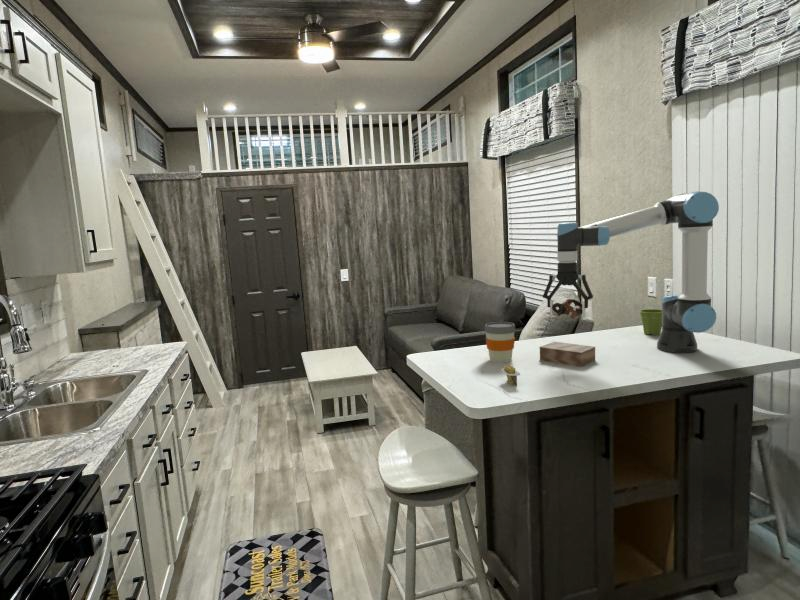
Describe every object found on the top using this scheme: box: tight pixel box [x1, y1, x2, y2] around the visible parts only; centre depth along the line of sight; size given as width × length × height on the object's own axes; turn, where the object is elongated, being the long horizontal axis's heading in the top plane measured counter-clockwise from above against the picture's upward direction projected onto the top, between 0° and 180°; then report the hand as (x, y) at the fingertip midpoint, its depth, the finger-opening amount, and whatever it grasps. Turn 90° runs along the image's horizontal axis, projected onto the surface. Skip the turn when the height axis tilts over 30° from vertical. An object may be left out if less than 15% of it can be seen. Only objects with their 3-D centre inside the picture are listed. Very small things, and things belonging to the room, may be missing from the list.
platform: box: [500, 364, 521, 387], centre depth 185 cm, size 12×18×7 cm, turn 12°
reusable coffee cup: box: [484, 321, 516, 363], centre depth 217 cm, size 13×13×15 cm
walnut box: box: [539, 341, 596, 368], centre depth 211 cm, size 18×12×6 cm, turn 45°
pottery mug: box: [552, 298, 582, 320], centre depth 210 cm, size 12×10×8 cm
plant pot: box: [638, 308, 662, 336], centre depth 251 cm, size 12×12×11 cm
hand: (567, 315), depth 209 cm, fingers closed on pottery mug, 12 cm apart
